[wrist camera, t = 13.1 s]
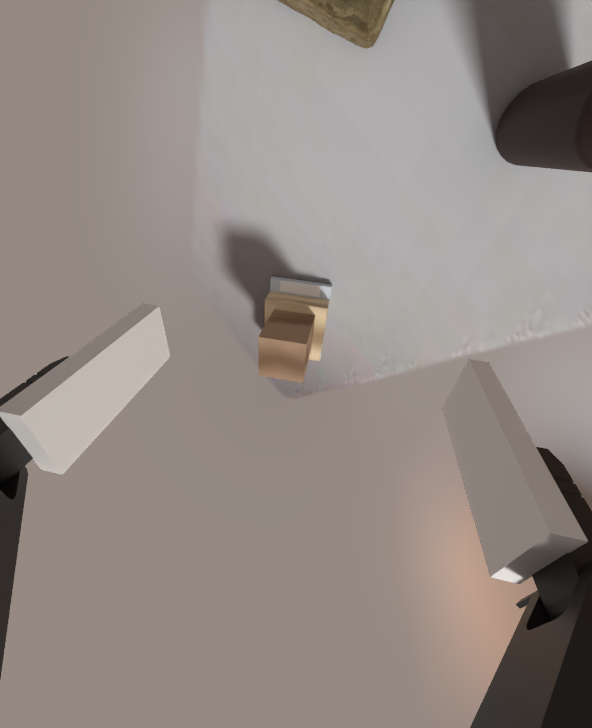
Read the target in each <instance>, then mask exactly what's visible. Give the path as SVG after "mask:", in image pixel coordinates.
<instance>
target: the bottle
mask: <svg viewBox="0 0 592 728" xmlns="http://www.w3.org/2000/svg"><path fill="white" fill-rule="evenodd" d="M497 147H498V150H499V153H500V155H501V156H502V157H503V158H504V159H505V160H506V161H507V162H509V163H512V164H514V165H520V166H531V167H542V168H552V169H563V170H573V171H584V172H592V61H589V62H587V63H584V64H582V65H579V66H577V67H574V68H572V69H569V70H567V71H564V72H561V73H559V74H556V75H554V76H551V77H549V78H546V79H544V80H541V81H539V82H536V83H534V84H532V85H530V86H529V87H528V88H526V89H525V90H523V91H522V92H521V93H519V94H518V96H517V97H516V98H515V99H514V100H513V101H512V102H511V103H510V104H509V106H508V107H507V109H506V111H505V113H504V114H503V116H502V118H501V120H500V124H499V127H498V130H497Z"/></svg>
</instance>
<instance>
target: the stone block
mask: <svg viewBox="0 0 592 728" xmlns="http://www.w3.org/2000/svg"><path fill="white" fill-rule="evenodd" d="M278 1H280V2H281V3H283V4H285V5H287V6H289V7H290V8H292V9H294V10H295V11H297V12H299V13H301V14H303V15H305V16H307V17H309V18H311V19H312V20H313V21H315V22H317V23H318V24H319V25H320V26H322V27H324V28H326V29H327V30H329V31H330V32H332V33H334V34H336V35H339V36H341V37H343V38H345V39H346V40H348V41H350V42H352V43H354V44H356V45H358V46H360V47H363V48H369V47H372V46H373V45H374V44H375V42H376V40H377V38H378V36H379V34H380V32H381V30H382V28H383V25H384V23H385V21H386V18H387V16H388V13H389V11H390V9H391V6H392V4H393V2H394V0H278Z"/></svg>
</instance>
